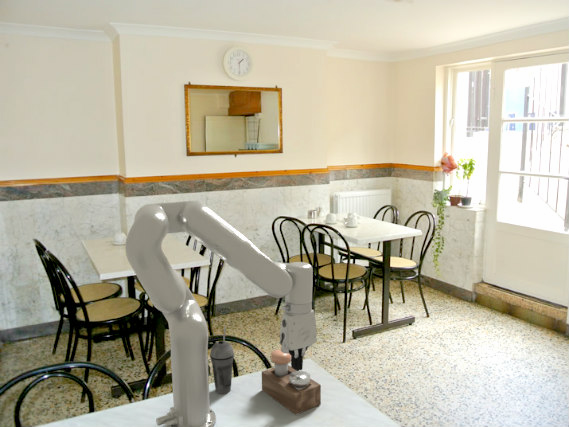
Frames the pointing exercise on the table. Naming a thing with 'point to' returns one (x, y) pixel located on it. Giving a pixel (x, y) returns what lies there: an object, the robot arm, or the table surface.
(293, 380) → the steel plug
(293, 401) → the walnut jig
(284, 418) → the table surface
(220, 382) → the beverage cup
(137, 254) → the robot arm
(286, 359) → the peach domed piece
